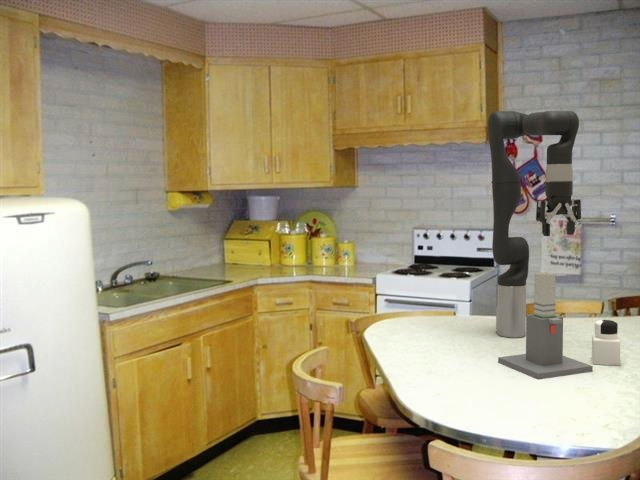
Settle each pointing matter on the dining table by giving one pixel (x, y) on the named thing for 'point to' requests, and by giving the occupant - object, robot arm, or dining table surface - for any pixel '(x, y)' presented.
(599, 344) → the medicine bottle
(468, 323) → the dining table surface
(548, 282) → the steel column
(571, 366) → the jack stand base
